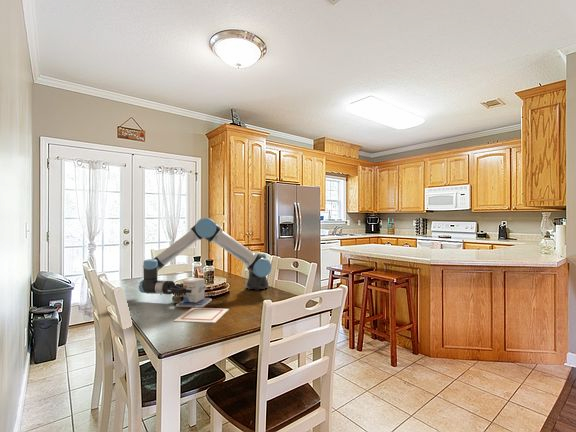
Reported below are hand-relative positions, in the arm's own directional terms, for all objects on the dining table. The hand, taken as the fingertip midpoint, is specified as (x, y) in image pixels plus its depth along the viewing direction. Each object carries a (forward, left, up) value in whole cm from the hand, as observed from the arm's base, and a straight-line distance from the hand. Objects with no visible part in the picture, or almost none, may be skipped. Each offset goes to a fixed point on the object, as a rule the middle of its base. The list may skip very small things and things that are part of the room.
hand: (201, 289), depth 170 cm
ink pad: (+5, 0, -8) cm, 9 cm away
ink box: (+5, 0, -7) cm, 8 cm away
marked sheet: (-8, +19, -8) cm, 22 cm away
